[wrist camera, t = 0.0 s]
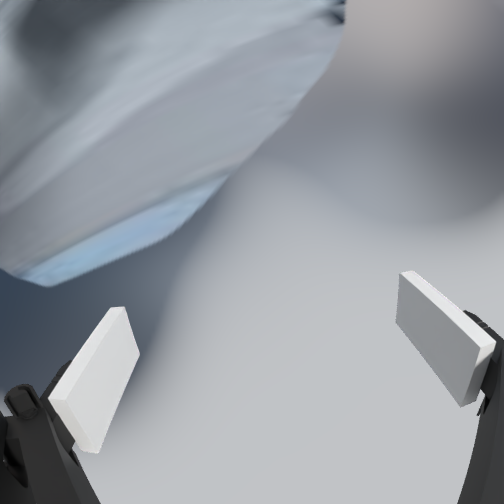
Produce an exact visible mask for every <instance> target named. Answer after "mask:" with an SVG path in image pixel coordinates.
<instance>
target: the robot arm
mask: <svg viewBox="0 0 504 504" xmlns="http://www.w3.org/2000/svg"><path fill="white" fill-rule="evenodd" d="M396 323H397V325H398V326H399V327H400V328H401V330H402V331H403V332H404V333H405V335H406V336H407V337H408V338H409V340H410V341H411V342H412V343H413V345H414V346H415V347H416V349H417V350H418V351H419V352H420V354H421V355H422V356H423V358H424V359H425V360H426V362H427V363H428V364H429V365H430V367H431V368H432V369H433V371H434V372H435V373H436V375H437V376H438V377H439V379H440V380H441V381H442V382H443V384H444V385H445V387H446V388H447V390H448V391H449V392H450V394H451V395H452V396H453V398H454V399H455V401H456V402H457V403H458V404H459V406H460V407H463V406H465V405H468V404H470V403H472V402H475V401H476V399H477V396H478V394H479V391H480V389H481V390H482V391H483V393H484V394H485V397H484V399H483V402H482V404H481V406H480V409H479V411H478V413H477V416H479V415H480V420H479V425H478V430H477V435H476V439H475V444H474V448H473V452H472V456H471V460H470V464H469V468H468V472H467V475H466V478H465V482H464V485H463V488H462V491H461V494H460V497H459V500H458V503H457V504H504V340H503V338H501V337H500V336H499V335H498V334H497V333H496V332H495V331H494V330H492V329H491V328H490V327H488V325H487V324H486V323H484V322H482V320H481V319H480V318H479V317H477V316H476V315H475V314H472V313H470V312H468V311H466V310H465V311H461V310H460V309H459V308H458V307H457V306H456V305H454V304H453V303H452V302H451V301H450V300H448V299H447V298H446V297H445V296H444V295H442V294H441V293H440V292H439V291H438V290H436V289H435V288H434V287H433V286H431V285H430V284H429V283H428V282H427V281H425V280H424V279H423V278H422V277H420V276H419V275H418V274H417V273H415V272H414V271H407V272H401V273H400V274H399V290H398V303H397V315H396ZM139 355H140V354H139V351H138V348H137V345H136V342H135V339H134V336H133V333H132V329H131V327H130V323H129V320H128V317H127V313H126V310H125V307H115V308H110V309H109V311H108V312H107V313H106V315H105V316H104V317H103V319H102V320H101V322H100V323H99V324H98V326H97V327H96V328H95V330H94V331H93V333H92V334H91V335H90V337H89V338H88V340H87V341H86V342H85V344H84V345H83V347H82V348H81V350H80V351H79V353H78V354H77V355H76V357H75V358H74V360H73V361H68V362H67V363H66V364H65V365H63V366H62V367H61V368H60V369H59V371H58V372H57V374H56V377H54V378H53V380H52V383H50V384H49V386H48V387H47V389H46V390H45V391H44V393H43V394H42V396H41V397H40V399H39V397H38V396H37V394H36V392H35V390H34V389H33V387H32V386H31V385H29V384H22V385H18V386H16V387H14V388H12V389H11V390H10V391H9V392H8V393H7V394H6V396H5V399H4V402H5V403H6V405H7V407H8V408H9V409H10V411H11V413H12V414H13V416H8V417H4V416H3V414H2V413H1V411H0V504H101V503H100V502H99V500H98V498H97V496H96V494H95V492H94V490H93V489H92V487H91V485H90V483H89V481H88V479H87V477H86V475H85V473H84V471H83V469H82V467H81V464H80V462H79V460H78V458H77V456H76V454H75V452H74V451H73V450H72V447H73V444H74V442H76V443H77V445H78V446H79V448H80V449H81V450H82V451H85V452H92V453H99V451H100V449H101V446H102V444H103V441H104V439H105V436H106V434H107V431H108V429H109V426H110V424H111V421H112V419H113V416H114V414H115V411H116V409H117V406H118V404H119V402H120V399H121V396H122V394H123V392H124V389H125V387H126V385H127V382H128V380H129V378H130V375H131V373H132V371H133V369H134V366H135V364H136V362H137V359H138V357H139ZM480 413H481V414H480Z"/></svg>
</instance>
